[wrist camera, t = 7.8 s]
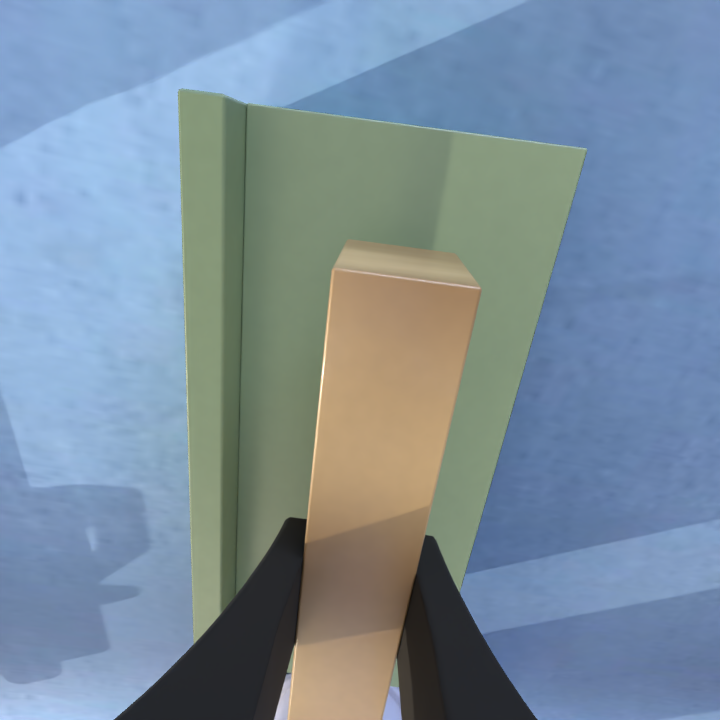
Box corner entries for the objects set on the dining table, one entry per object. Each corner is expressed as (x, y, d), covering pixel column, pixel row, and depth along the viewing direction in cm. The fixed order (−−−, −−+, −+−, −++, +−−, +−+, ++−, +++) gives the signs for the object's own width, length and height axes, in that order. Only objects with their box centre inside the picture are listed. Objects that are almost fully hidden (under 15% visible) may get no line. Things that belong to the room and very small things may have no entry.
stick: (367, 691, 16) (363, 801, 13) (298, 681, 16) (279, 790, 13) (456, 253, 10) (483, 287, 7) (346, 238, 10) (331, 267, 7)
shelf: (422, 587, 23) (434, 734, 17) (243, 563, 23) (194, 702, 17) (528, 152, 15) (618, 146, 9) (257, 116, 15) (176, 87, 9)
